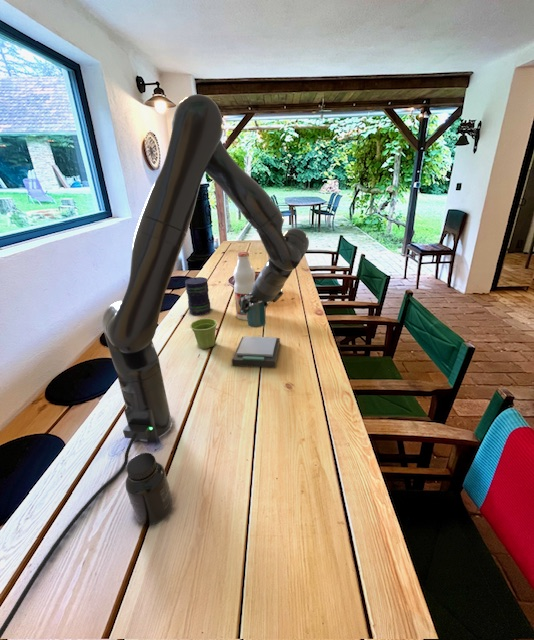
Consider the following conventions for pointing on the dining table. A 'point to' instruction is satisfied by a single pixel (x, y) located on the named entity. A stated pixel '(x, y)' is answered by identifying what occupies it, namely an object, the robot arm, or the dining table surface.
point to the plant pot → (204, 332)
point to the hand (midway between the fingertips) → (253, 308)
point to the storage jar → (198, 296)
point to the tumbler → (256, 315)
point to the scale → (256, 352)
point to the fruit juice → (243, 281)
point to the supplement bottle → (148, 489)
